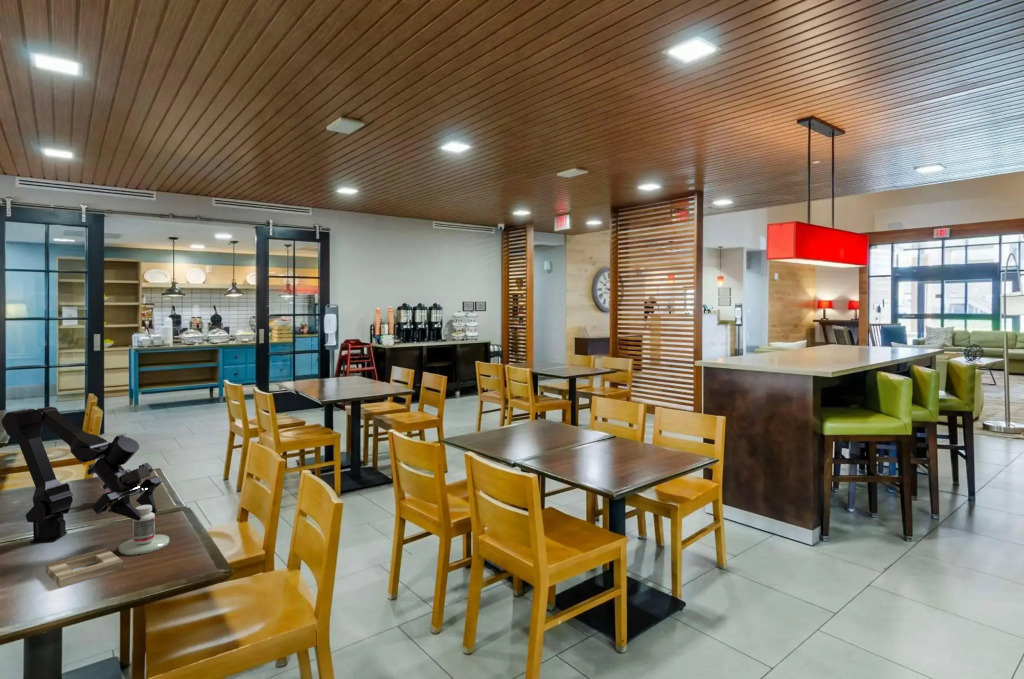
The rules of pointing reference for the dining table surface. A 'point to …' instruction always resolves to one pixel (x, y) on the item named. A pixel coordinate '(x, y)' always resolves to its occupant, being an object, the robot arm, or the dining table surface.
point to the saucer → (144, 546)
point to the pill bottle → (144, 525)
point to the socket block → (66, 576)
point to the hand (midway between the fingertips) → (147, 516)
